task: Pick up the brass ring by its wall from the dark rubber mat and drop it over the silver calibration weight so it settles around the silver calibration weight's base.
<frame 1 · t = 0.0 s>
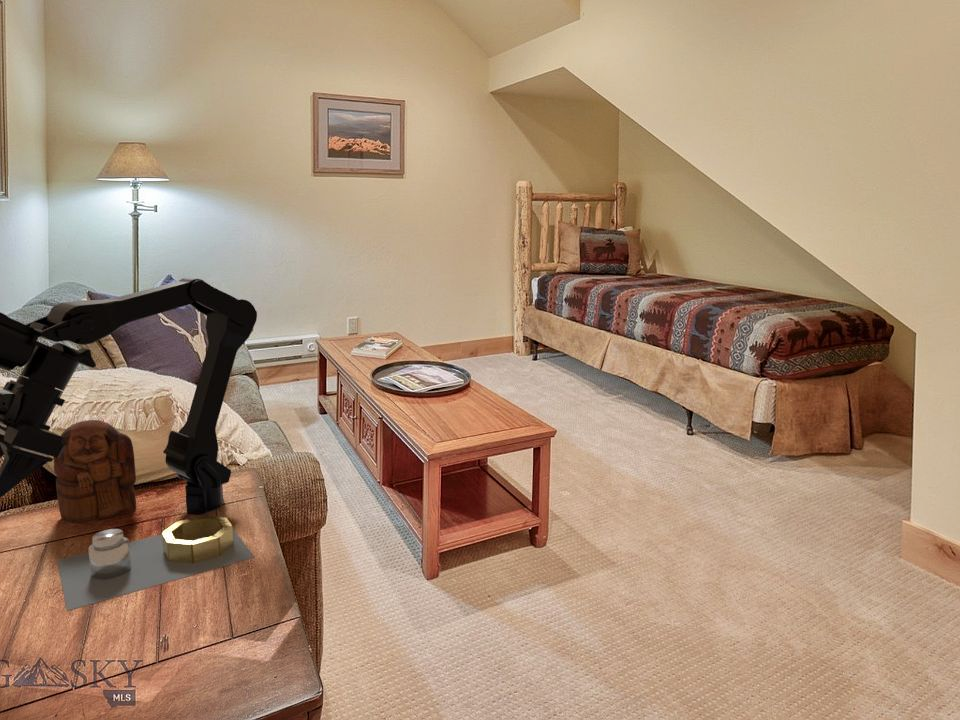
silver calibration weight: (111, 570, 92), resting on mat
brass ring: (199, 547, 99), point 1 cm above the table, touching mat
mat: (157, 567, 96), on the table
wooden figurine: (101, 522, 111), on the table
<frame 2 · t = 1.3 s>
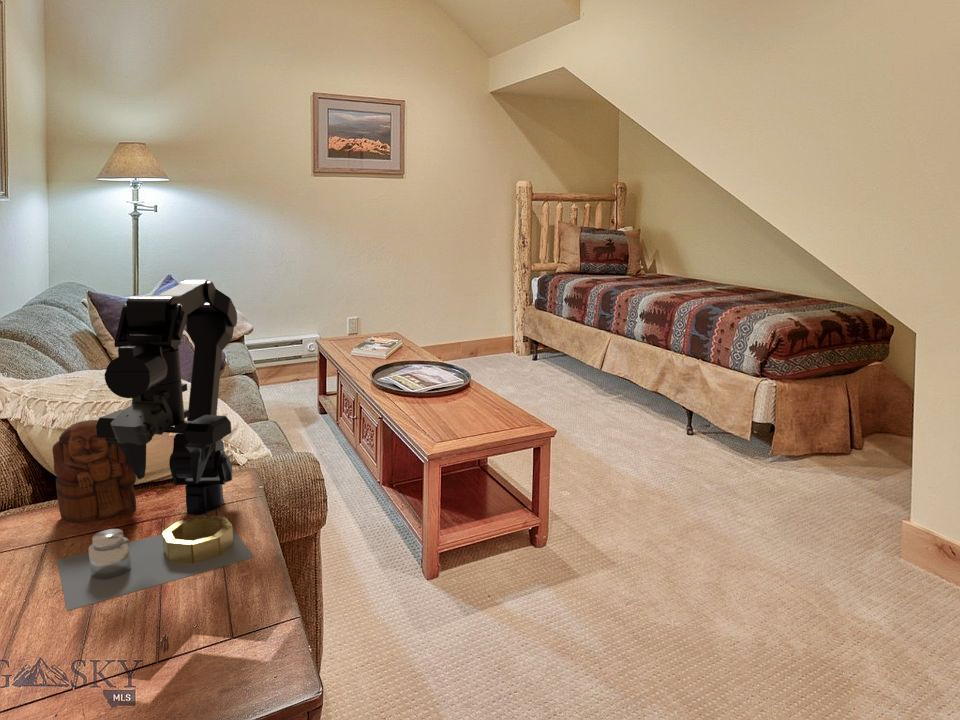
hand: (168, 480, 97), 12 cm above the table, tool pointing down, fingers open, 9 cm apart
nothing on the table moved.
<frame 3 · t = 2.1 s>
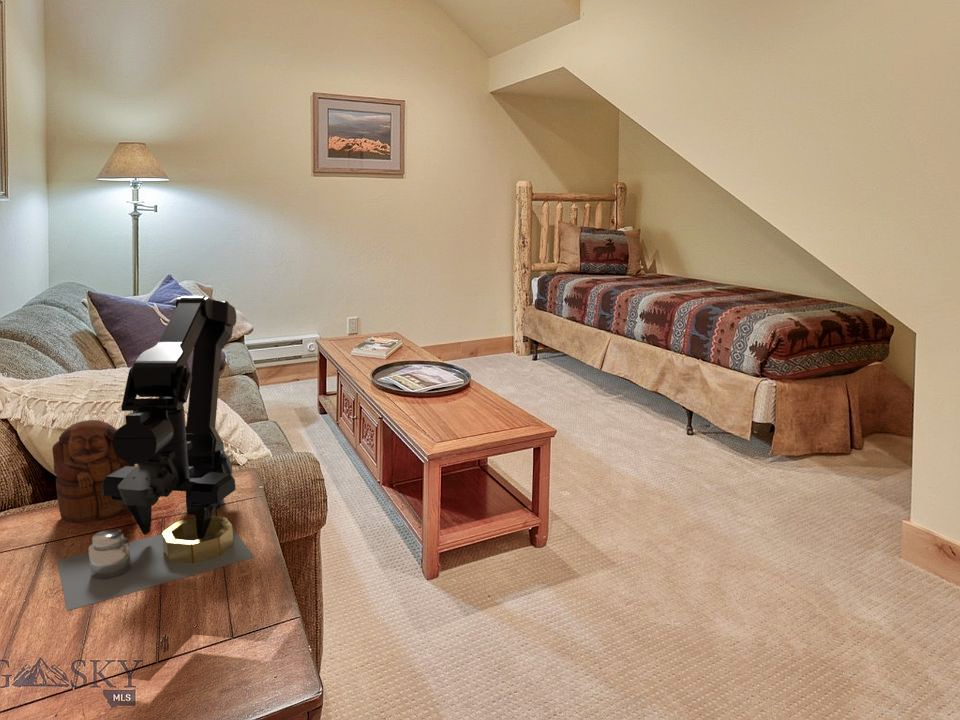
hand: (173, 536, 99), 3 cm above the table, tool pointing down, fingers open, 9 cm apart
nothing on the table moved.
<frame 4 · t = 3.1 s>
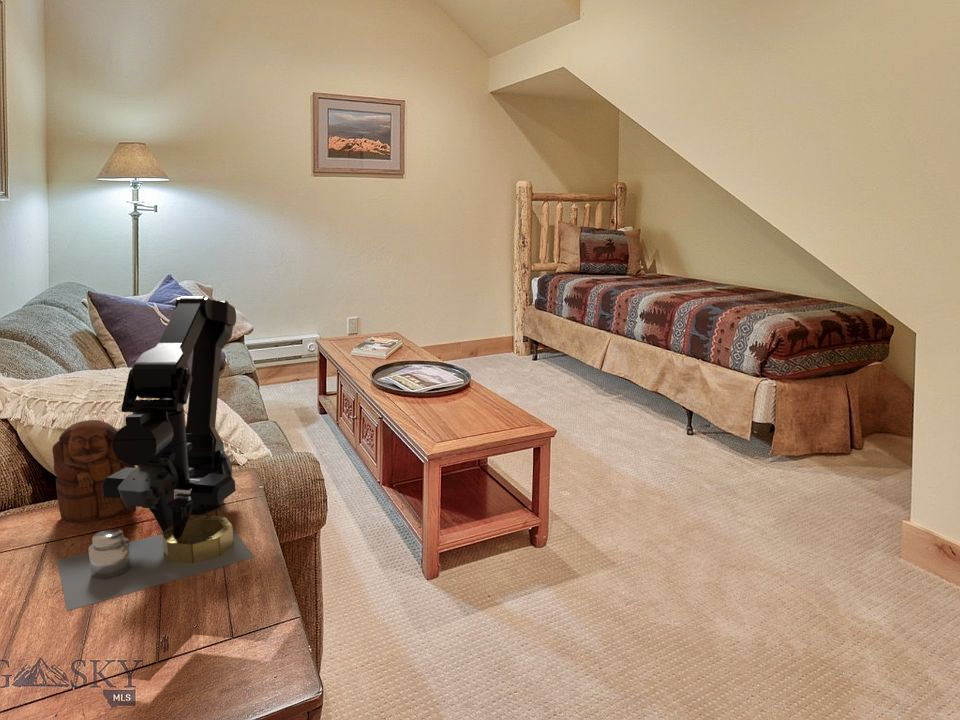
hand: (174, 537, 99), 3 cm above the table, tool pointing down, fingers closed on brass ring
brass ring: (199, 547, 99), point 1 cm above the table, touching gripper, mat
everything else where it was.
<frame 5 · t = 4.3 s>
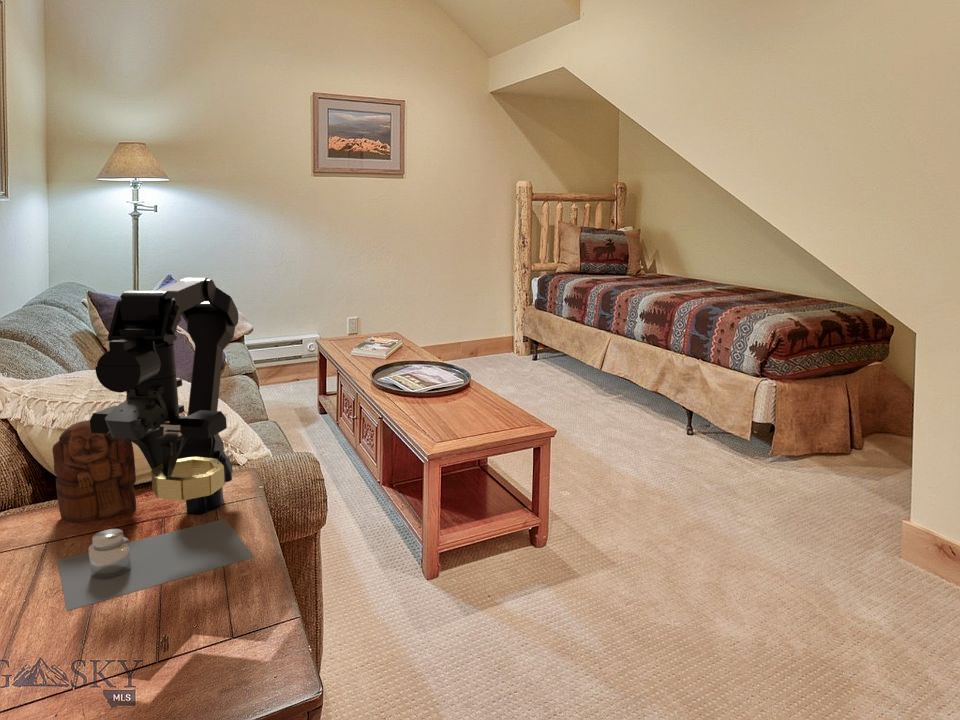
hand: (163, 476, 97), 13 cm above the table, tool pointing down, fingers closed on brass ring
brass ring: (188, 486, 96), point 12 cm above the table, touching gripper
everything else where it was.
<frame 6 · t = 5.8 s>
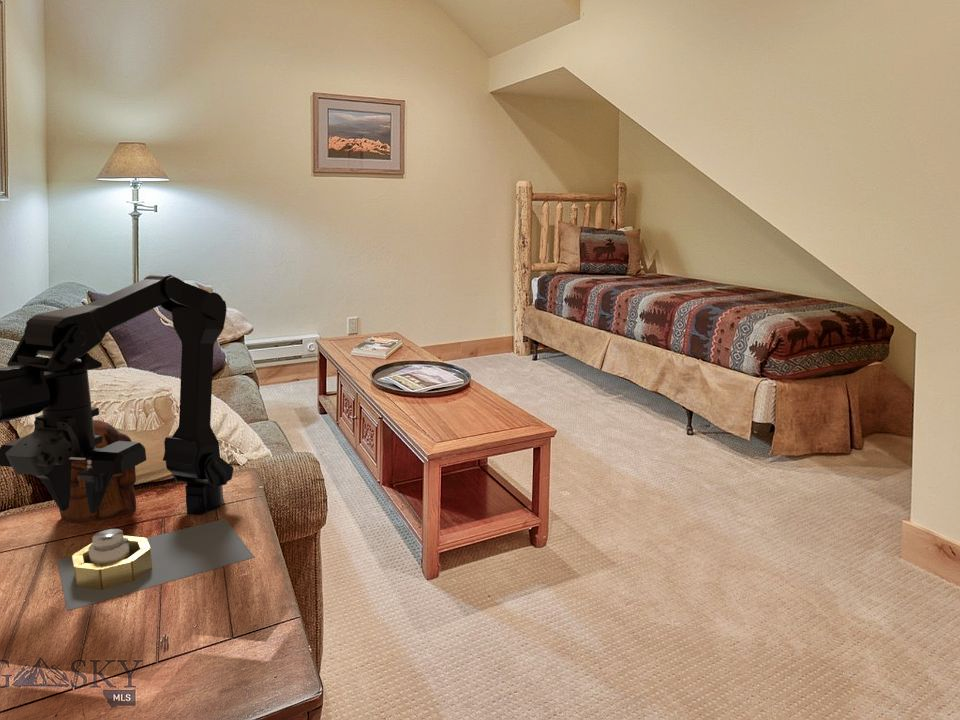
hand: (79, 511, 91), 10 cm above the table, tool pointing down, fingers open, 4 cm apart
brass ring: (113, 570, 92), point 1 cm above the table, touching mat
everything else where it was.
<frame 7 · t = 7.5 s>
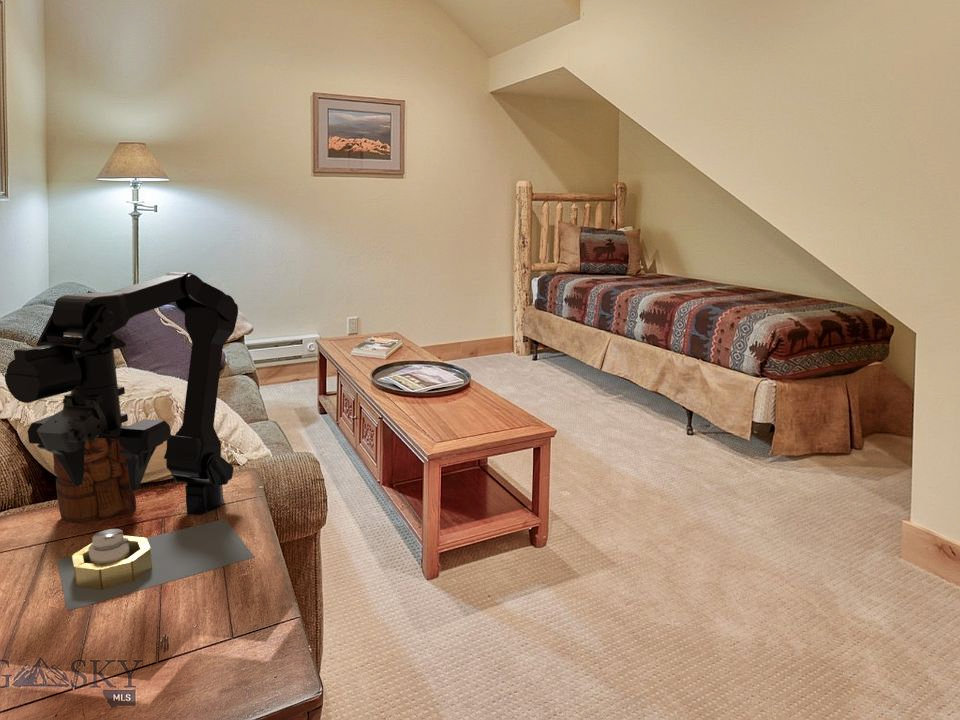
hand: (106, 487, 93), 13 cm above the table, tool pointing down, fingers open, 9 cm apart
nothing on the table moved.
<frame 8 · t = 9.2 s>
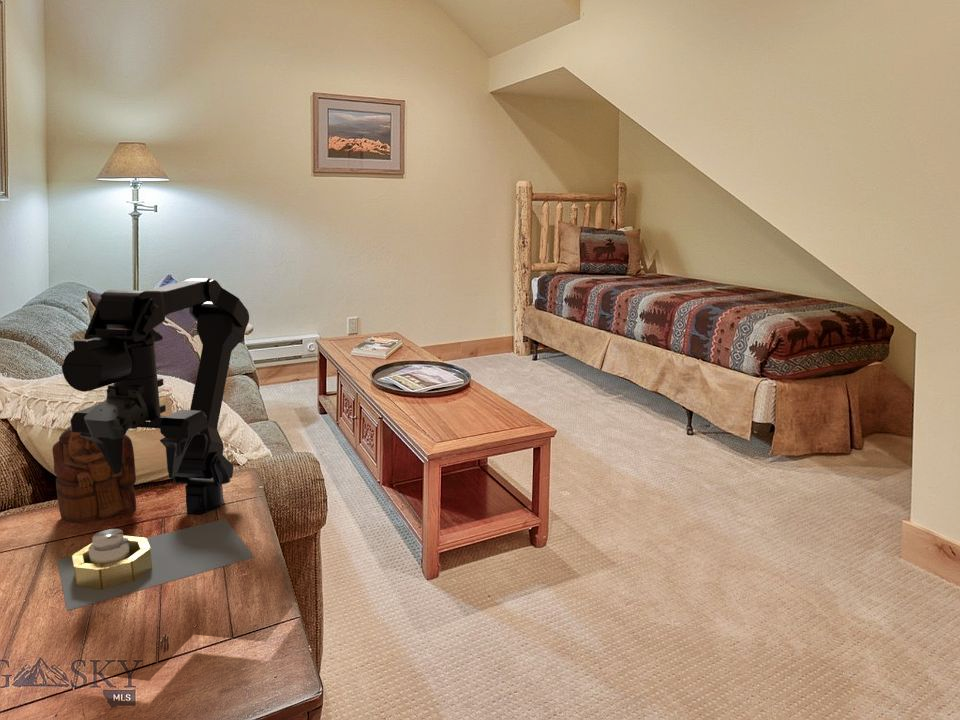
hand: (144, 475, 97), 13 cm above the table, tool pointing down, fingers open, 9 cm apart
nothing on the table moved.
at the end: brass ring 0.4 cm from the silver calibration weight (horizontally); brass ring point 1.5 cm above the table; the gripper is holding nothing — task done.
